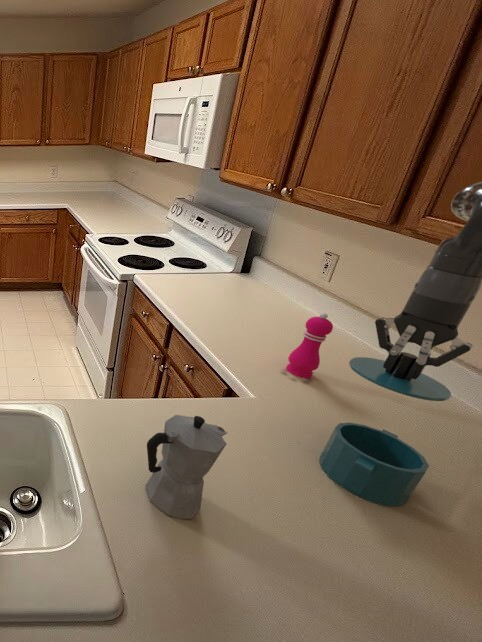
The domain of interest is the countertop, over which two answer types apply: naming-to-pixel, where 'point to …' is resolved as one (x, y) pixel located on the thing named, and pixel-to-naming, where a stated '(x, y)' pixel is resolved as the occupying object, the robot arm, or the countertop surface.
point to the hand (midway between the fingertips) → (398, 374)
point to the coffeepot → (182, 464)
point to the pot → (372, 464)
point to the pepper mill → (309, 347)
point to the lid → (400, 377)
